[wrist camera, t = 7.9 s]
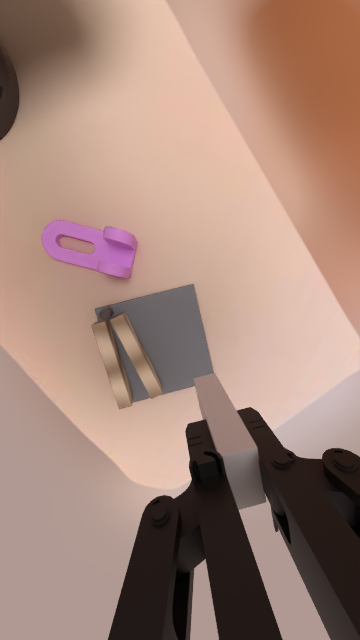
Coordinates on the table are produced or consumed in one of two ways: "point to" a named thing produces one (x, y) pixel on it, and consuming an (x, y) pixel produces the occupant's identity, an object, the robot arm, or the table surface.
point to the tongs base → (112, 359)
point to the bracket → (110, 247)
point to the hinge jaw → (137, 354)
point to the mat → (165, 339)
